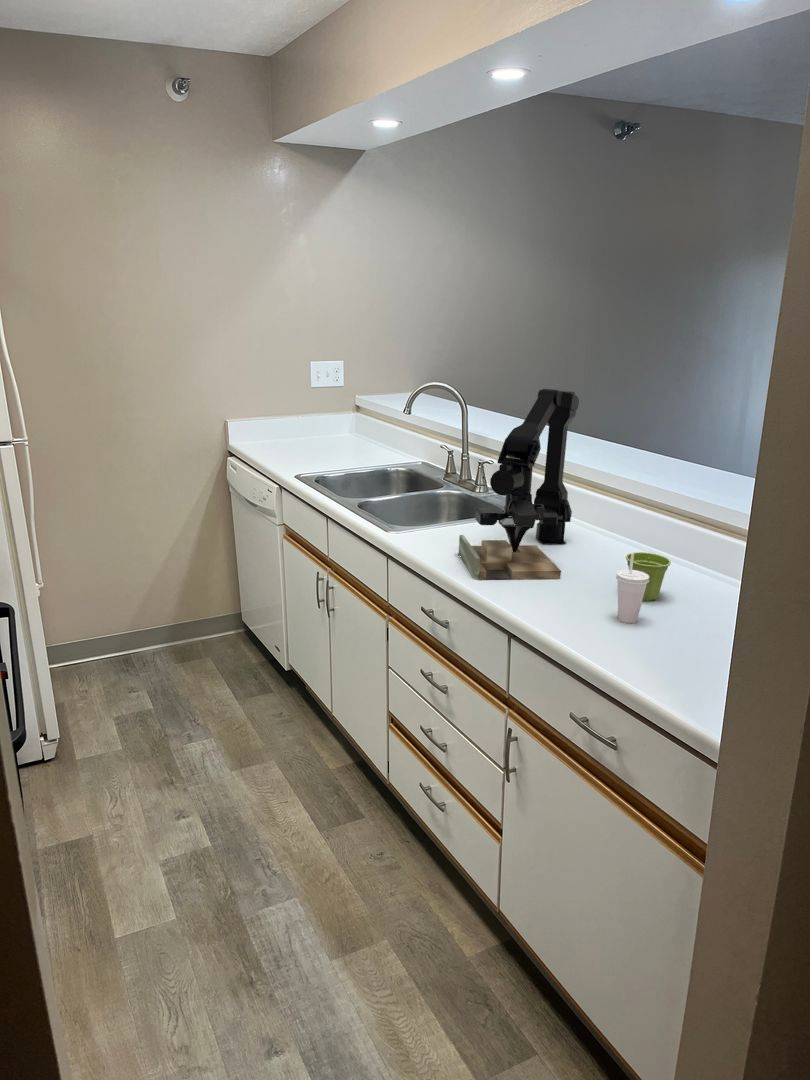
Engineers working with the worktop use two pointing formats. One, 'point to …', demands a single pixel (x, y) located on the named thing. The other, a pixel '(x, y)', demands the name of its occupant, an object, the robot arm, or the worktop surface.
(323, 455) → the worktop surface
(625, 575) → the smoothie
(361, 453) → the worktop surface
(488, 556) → the birch block
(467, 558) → the board
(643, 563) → the plant pot
